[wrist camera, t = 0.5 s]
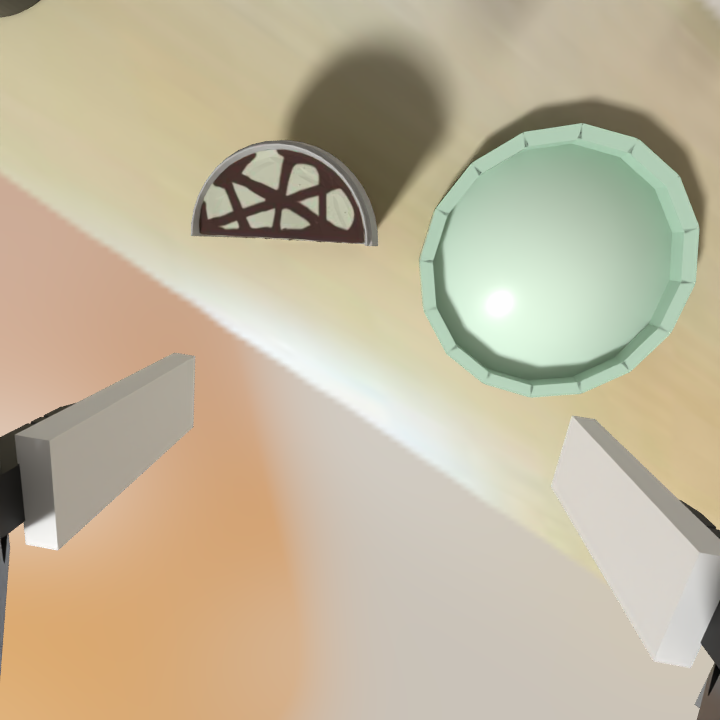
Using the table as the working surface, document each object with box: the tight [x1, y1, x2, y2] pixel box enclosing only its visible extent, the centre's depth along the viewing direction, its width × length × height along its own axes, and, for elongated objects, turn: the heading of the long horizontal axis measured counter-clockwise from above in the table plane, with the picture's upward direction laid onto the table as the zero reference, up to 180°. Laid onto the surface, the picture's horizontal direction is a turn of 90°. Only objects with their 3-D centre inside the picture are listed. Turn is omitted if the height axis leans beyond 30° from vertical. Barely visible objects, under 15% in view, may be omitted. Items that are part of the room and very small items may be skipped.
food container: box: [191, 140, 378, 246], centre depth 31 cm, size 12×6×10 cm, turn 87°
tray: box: [419, 123, 699, 397], centre depth 34 cm, size 20×20×2 cm
